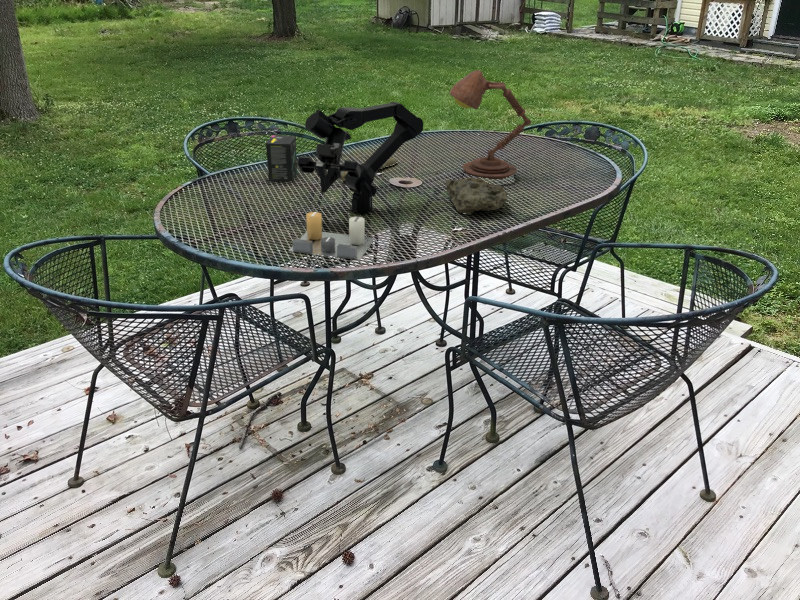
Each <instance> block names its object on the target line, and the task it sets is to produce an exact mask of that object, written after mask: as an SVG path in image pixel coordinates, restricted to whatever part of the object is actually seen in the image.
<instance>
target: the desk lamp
mask: <svg viewBox="0 0 800 600" xmlns="http://www.w3.org/2000/svg"><path fill="white" fill-rule="evenodd" d="M486 79H487V78H486V77H485V76H484V75H483V72H482V70H479V69H476V70H473V71H471V72H469V73H468V74H467V75H465V76H464V77H462V78H461V79H460V80H458V81H457V82H455V84H454V85H453V86H452V87H451V89H450V91H449V95H450V96H451V97H453V99H454V101H455V103H456V104H457V106H459V107H461V108H463V109H471V108H472V109H474V110H477V109H478V108H479V107H480V106H481V103H482V100H483V95H484V94H485V93H486V91H488V90H502V91H503V92H502V96H503V97H504V98H505V99H506V101H507V102H508V103H509V104H510V106H511V108H512V109H513V111H514V112H515V113H516V116H517V117H521V118H522V119H523V123H522V124H520V123H519V124H517V125H516V126H515V128H513V129H512V130H511V131H509V133H507V134H506V135H505V136H504V137H503V138H501V139H500V141H498V142H496V145H495V147H494V148H493V149H489V150H488V152H487V156H484V157H480V158H475V159H473V160H472V161H468V162H466V163H464V164H463V165H462V169H463V171H465V172H466V173H467V174H469V175H472V176H477V177H481V178H482V177H483V178H489V179H503V178H506V177H509V176H511V175H513V174H515V175H516V173H517V171H518V169H517V167H516V166H514V165H512V164H509V163H508V162H507V161H506V160H502V159H500V158H498V157H495V154H496V152H497V151H498V150H503V149H504V148H505V147H506V146H507V145H509V143H511V142H512V141H513V140H514V139H515V138H517V137H518V136H519V135H520V134H521V133H523V132H524V131H525V129H524V128H525V127H526V126H527V127H528V126H530V125H531V124H532V120H531V119H530V118H528V117H527V115H526V109H525V108H523V106H522V105H521V104H520V103H519V101H518V98H517V97H516V96H515V95H514V93H512V92H513V91H512V90H511V88H508V89H507V85H506V84H505V83H504V82H503V81H491V80H486Z"/></svg>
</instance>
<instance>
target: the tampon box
mask: <svg viewBox="0 0 800 600" xmlns="http://www.w3.org/2000/svg"><path fill="white" fill-rule="evenodd" d="M265 148H266V149H265V150H266V160H267V161H266V162H267V163H266V164H267V171H268V172H267V174H268V182H282V181H292V182H291V183H293V182H294V181H293V180H295V179H294V178H296V177H297V175H298V165H297V160H298V158H297V136H294V135H271V137H270V138H269V139H268V140H267V141H266V142H265Z"/></svg>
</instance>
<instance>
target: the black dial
mask: <svg viewBox="0 0 800 600" xmlns="http://www.w3.org/2000/svg"><path fill="white" fill-rule="evenodd" d="M321 251H323V252H333V251H335V239H334V238H332V237H324V238H322V239H321Z"/></svg>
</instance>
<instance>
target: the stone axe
mask: <svg viewBox="0 0 800 600" xmlns="http://www.w3.org/2000/svg"><path fill="white" fill-rule="evenodd" d="M396 162H398V159H397V158H396V157H390V158H389V159H388V160H387V161H386V162H385V164H384V165H383V166H382V167H381V168H384V167H386V166H390V165H392V164H395V163H396ZM381 168H380V169H381ZM347 173H348V172H347V171H342V172H341V178H340V180H341V181H342V180H343V181H345V176H346V174H347ZM343 181H342V182H343Z"/></svg>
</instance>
